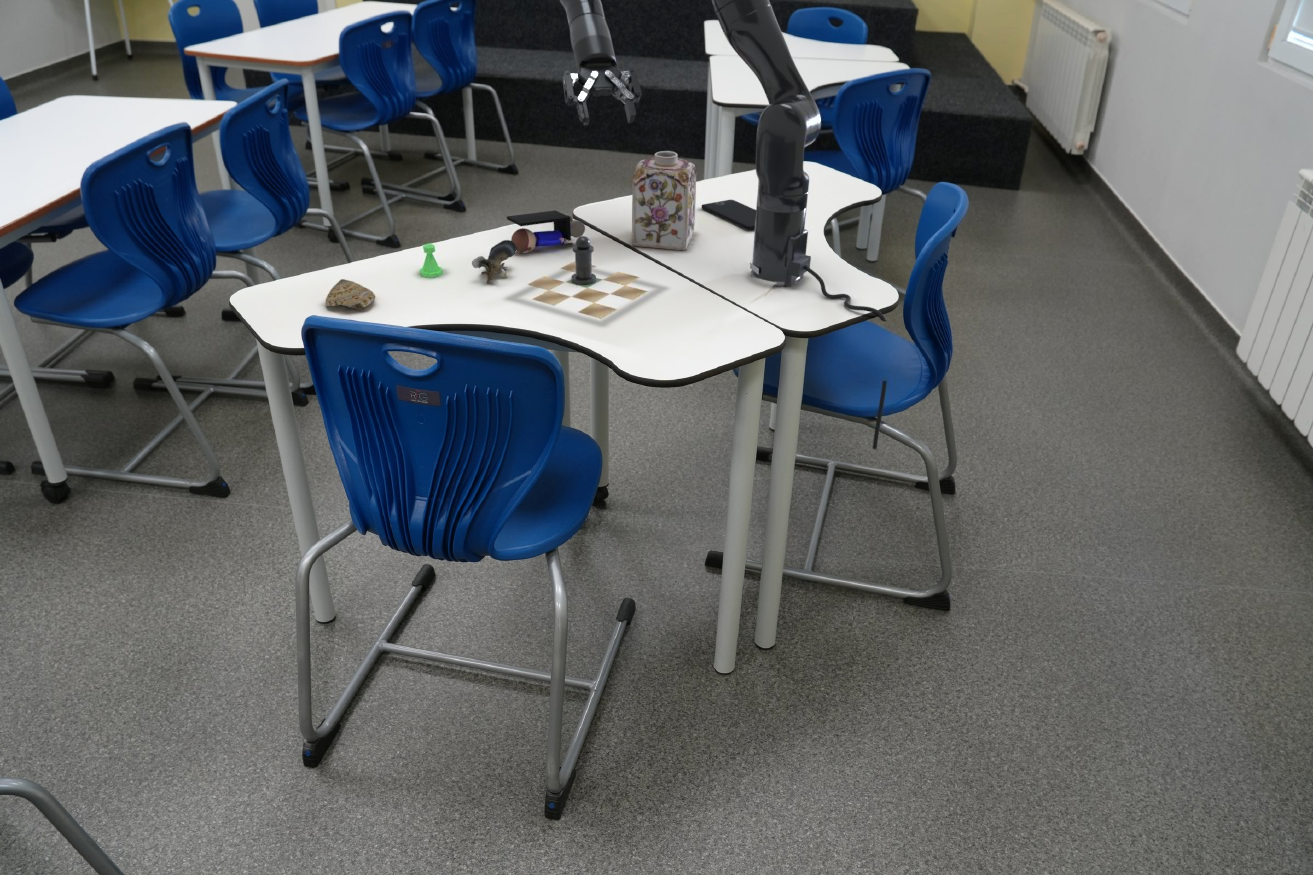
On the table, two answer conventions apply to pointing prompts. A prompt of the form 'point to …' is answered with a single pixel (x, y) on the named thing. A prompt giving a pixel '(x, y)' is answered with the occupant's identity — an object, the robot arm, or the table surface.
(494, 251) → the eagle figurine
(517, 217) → the figurine character
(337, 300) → the brown rock
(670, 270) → the table surface
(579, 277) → the black chess piece
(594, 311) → the chess board
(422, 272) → the game piece
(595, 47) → the robot arm
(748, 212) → the cell phone
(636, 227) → the decorative jar
